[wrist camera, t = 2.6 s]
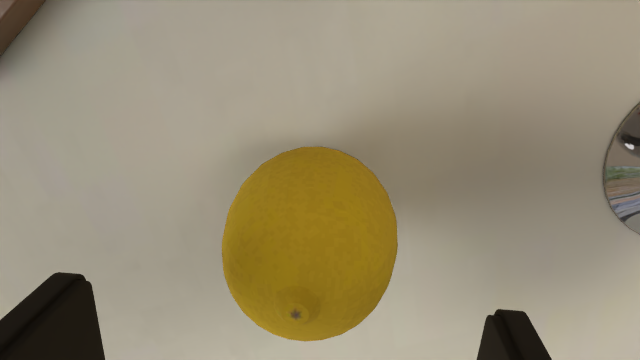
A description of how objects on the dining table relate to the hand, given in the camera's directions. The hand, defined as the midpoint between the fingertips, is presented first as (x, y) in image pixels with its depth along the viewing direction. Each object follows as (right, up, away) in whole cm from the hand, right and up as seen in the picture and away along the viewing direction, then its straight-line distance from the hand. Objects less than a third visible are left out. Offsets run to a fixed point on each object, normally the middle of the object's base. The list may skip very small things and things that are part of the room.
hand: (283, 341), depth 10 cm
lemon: (+1, +4, +8) cm, 9 cm away
